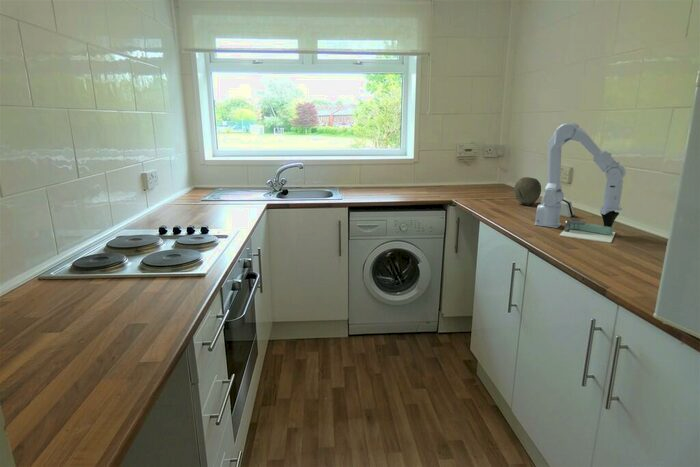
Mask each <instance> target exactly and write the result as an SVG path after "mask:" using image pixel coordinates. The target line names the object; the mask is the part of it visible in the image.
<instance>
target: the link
mask: <svg viewBox="0 0 700 467" xmlns="http://www.w3.org/2000/svg"><path fill="white" fill-rule="evenodd" d="M570 229H579V230H583V231H589V232H595V233H601V234H607V235H612V233H613V232H614V227H613V226H612V227H608V226H604V225H600V224H594V223H587V222H585V225H577V224H570Z"/></svg>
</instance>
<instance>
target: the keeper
mask: <svg viewBox="0 0 700 467" xmlns="http://www.w3.org/2000/svg"><path fill="white" fill-rule="evenodd" d="M585 223H586V221H580V220H579V221H571V220H565V221H564V229H563V230H564V231H565V232H569V230H570V224H577V225H585Z"/></svg>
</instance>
